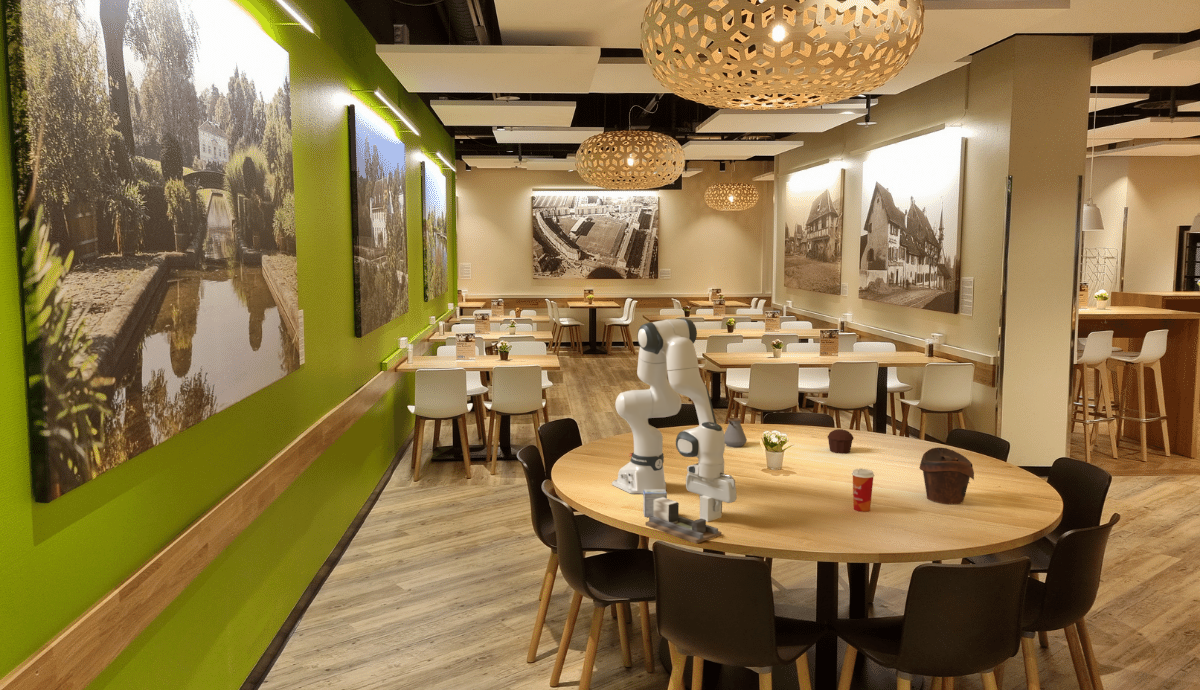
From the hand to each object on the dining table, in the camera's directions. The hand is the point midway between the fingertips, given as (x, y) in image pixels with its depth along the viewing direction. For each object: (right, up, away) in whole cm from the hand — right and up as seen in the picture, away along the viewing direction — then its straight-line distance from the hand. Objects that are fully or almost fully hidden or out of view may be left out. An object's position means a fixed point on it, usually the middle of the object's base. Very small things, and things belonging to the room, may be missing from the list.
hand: (710, 509), depth 279 cm
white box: (0, -3, 0) cm, 3 cm away
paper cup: (+55, -2, +10) cm, 56 cm away
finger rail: (-11, -4, -12) cm, 16 cm away
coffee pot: (+24, +8, +101) cm, 105 cm away
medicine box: (-19, -3, +4) cm, 20 cm away
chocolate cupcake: (+90, -1, +22) cm, 93 cm away
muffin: (+73, +7, +95) cm, 119 cm away
